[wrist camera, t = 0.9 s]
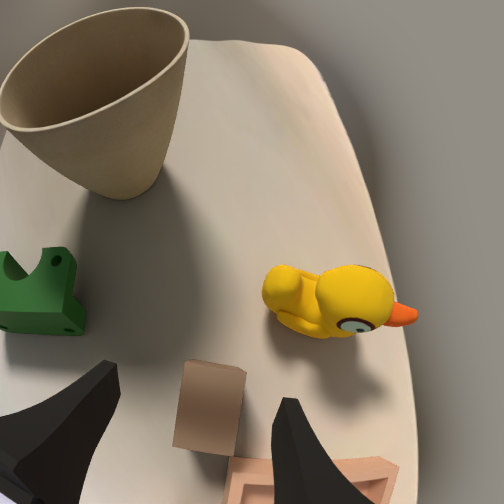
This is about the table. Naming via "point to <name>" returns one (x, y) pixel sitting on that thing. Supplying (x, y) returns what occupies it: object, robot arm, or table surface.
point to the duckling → (333, 301)
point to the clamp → (40, 295)
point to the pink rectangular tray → (355, 470)
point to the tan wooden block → (209, 407)
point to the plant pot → (101, 98)
